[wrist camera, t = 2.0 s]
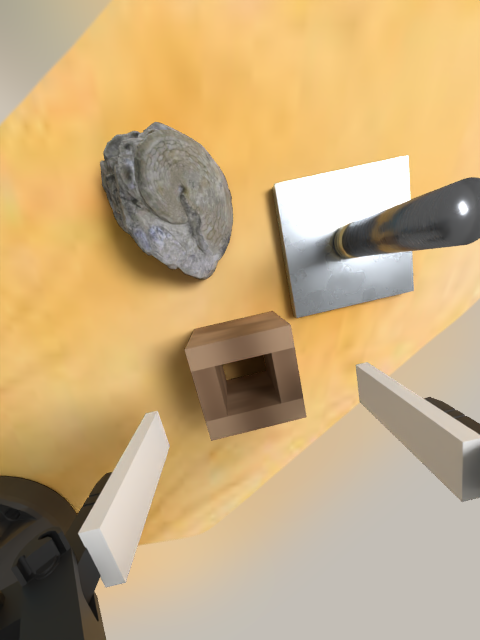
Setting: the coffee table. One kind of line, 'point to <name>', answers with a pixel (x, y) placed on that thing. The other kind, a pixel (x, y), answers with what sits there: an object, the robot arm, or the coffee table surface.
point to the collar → (252, 390)
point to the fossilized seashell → (169, 197)
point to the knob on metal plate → (365, 232)
